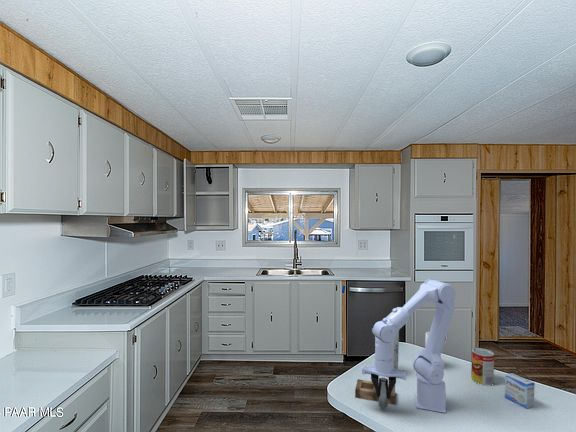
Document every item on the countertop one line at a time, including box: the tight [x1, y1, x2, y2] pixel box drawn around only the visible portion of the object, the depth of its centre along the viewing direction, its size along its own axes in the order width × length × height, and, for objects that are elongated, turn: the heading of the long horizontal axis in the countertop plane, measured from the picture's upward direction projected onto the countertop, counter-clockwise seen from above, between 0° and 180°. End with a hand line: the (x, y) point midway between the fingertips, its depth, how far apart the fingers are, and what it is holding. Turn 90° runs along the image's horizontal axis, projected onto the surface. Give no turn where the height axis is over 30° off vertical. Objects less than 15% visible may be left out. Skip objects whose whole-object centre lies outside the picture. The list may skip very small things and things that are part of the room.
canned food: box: [470, 347, 495, 386], centre depth 136 cm, size 8×8×12 cm
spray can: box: [387, 329, 400, 379], centre depth 140 cm, size 6×6×20 cm
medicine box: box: [504, 372, 536, 409], centre depth 121 cm, size 8×4×9 cm, turn 23°
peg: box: [378, 377, 389, 409], centre depth 114 cm, size 3×3×9 cm
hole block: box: [354, 379, 396, 405], centre depth 124 cm, size 14×8×3 cm, turn 72°
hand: (383, 396), depth 114 cm, fingers closed on peg, 3 cm apart
